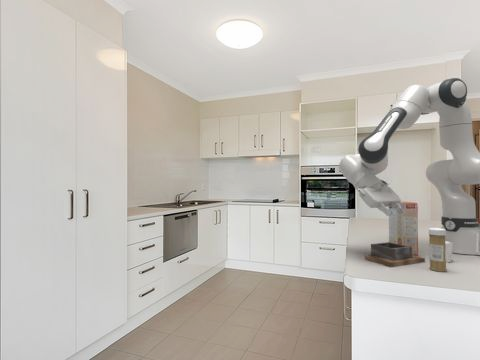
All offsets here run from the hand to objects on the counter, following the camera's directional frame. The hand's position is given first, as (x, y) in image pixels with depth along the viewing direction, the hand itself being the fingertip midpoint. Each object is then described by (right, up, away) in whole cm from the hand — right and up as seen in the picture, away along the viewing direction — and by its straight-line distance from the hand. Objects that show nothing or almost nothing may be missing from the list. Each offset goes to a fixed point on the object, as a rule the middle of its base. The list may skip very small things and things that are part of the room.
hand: (396, 213), depth 100 cm
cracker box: (+12, -18, +16) cm, 26 cm away
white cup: (+17, -17, +1) cm, 24 cm away
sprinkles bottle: (+8, -17, -10) cm, 21 cm away
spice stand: (0, -17, +1) cm, 17 cm away
